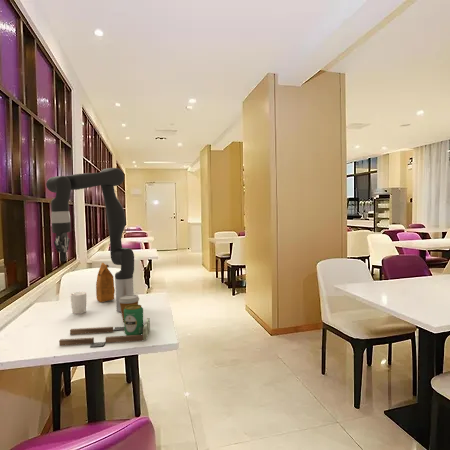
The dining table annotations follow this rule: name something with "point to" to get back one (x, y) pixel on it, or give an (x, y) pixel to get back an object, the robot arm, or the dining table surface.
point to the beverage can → (133, 320)
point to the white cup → (78, 302)
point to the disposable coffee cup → (127, 302)
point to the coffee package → (104, 284)
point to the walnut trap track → (108, 339)
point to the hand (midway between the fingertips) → (63, 260)
